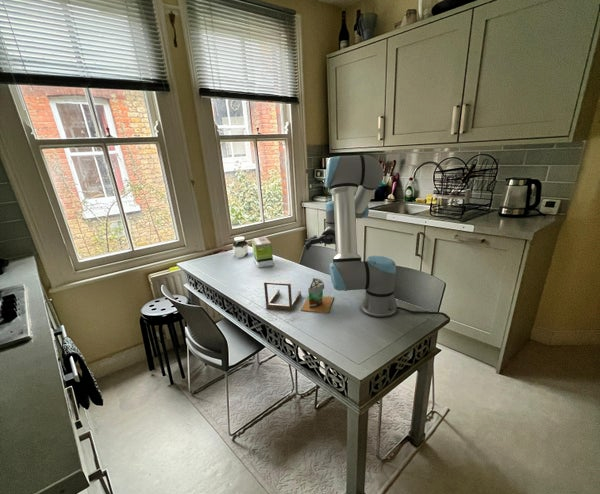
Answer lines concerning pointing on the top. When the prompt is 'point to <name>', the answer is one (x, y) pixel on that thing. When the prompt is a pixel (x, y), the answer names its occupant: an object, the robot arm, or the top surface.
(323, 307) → the cork mat
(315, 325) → the top surface
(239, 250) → the spread jar
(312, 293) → the food container
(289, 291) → the rack
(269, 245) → the tea box
